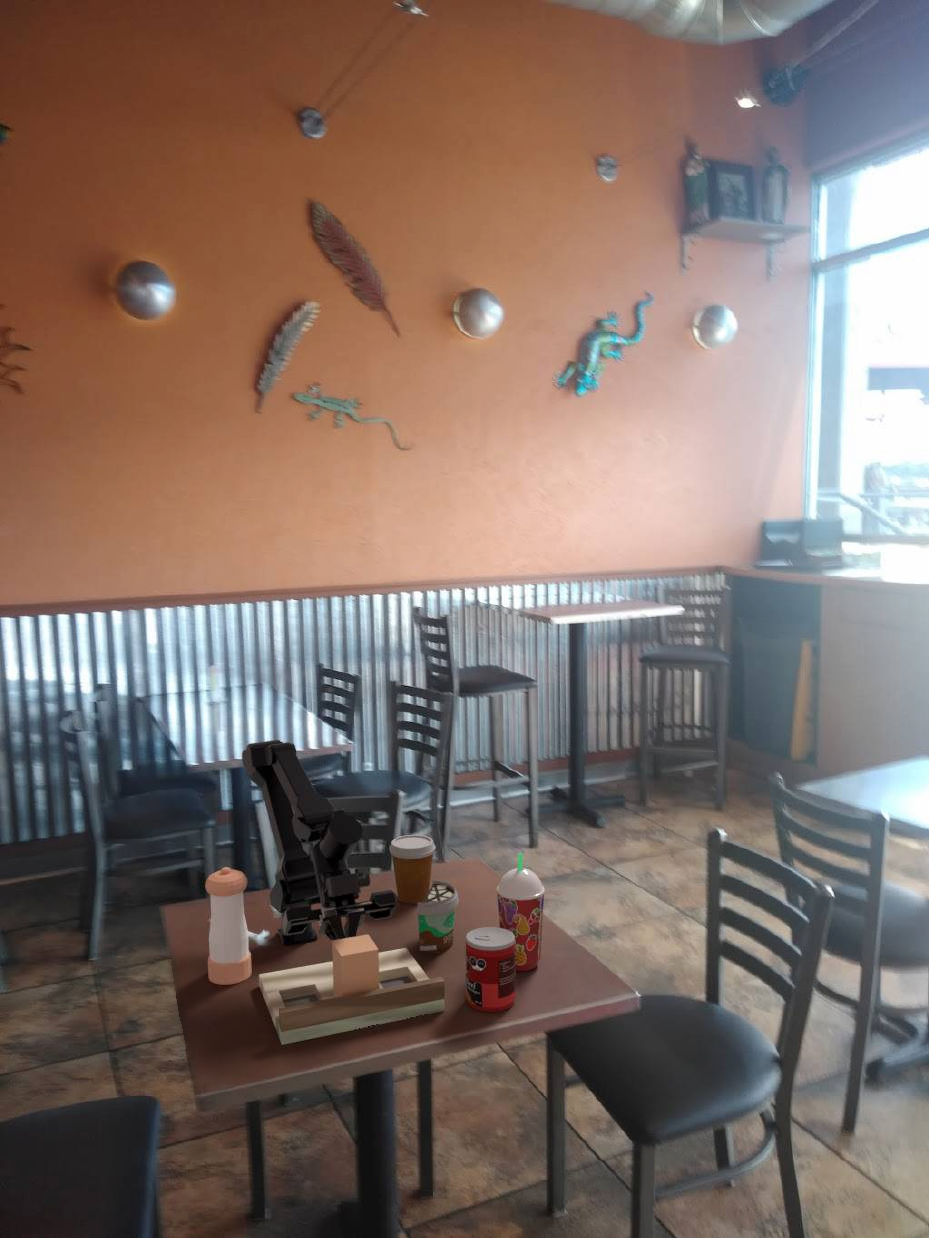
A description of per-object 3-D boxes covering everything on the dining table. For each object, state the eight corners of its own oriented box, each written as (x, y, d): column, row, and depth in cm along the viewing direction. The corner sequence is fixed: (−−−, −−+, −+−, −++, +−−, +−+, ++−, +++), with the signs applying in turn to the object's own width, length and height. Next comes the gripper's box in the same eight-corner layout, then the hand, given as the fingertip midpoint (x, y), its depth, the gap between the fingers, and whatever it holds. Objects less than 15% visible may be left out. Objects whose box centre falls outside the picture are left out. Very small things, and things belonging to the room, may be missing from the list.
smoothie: (551, 958, 173) (551, 849, 171) (535, 978, 165) (534, 865, 163) (508, 950, 176) (507, 843, 174) (490, 969, 169) (488, 858, 167)
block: (333, 994, 157) (332, 940, 156) (369, 987, 159) (368, 934, 158) (342, 1011, 151) (341, 955, 150) (379, 1003, 154) (378, 949, 153)
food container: (451, 960, 173) (450, 906, 172) (418, 957, 174) (416, 903, 173) (465, 931, 185) (464, 880, 184) (433, 929, 186) (433, 878, 185)
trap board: (259, 985, 164) (258, 957, 164) (406, 958, 174) (405, 931, 173) (281, 1044, 146) (280, 1013, 145) (444, 1010, 155) (444, 980, 155)
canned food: (464, 991, 162) (463, 927, 160) (512, 988, 162) (511, 925, 161) (468, 1014, 154) (467, 947, 153) (518, 1011, 155) (518, 945, 153)
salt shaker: (238, 987, 164) (233, 877, 162) (200, 981, 166) (195, 873, 164) (259, 968, 171) (255, 862, 169) (222, 963, 173) (218, 858, 171)
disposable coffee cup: (418, 910, 195) (417, 852, 194) (380, 900, 200) (379, 844, 199) (445, 894, 203) (444, 838, 202) (408, 885, 208) (407, 831, 207)
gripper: (283, 859, 158) (299, 952, 149) (393, 843, 164) (415, 931, 155) (275, 889, 166) (291, 979, 157) (381, 873, 173) (401, 958, 163)
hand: (350, 961), depth 158 cm, fingers closed, pressing on block
